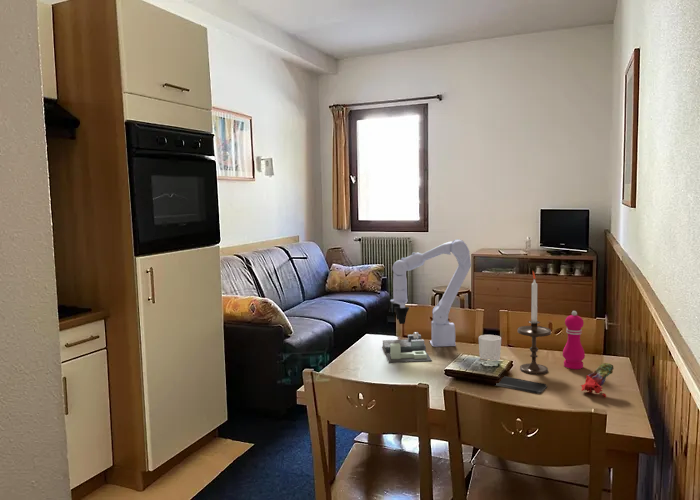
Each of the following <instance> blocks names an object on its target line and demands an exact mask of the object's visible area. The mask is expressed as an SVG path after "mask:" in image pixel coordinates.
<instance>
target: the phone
mask: <svg viewBox="0 0 700 500" xmlns="http://www.w3.org/2000/svg"><path fill="white" fill-rule="evenodd" d="M503 376H504V377H503V378H502V379H501V381H500V382H499V383H496V385H495V386H497V387H501V388H507V389H512V390H517V391H520V392H521V391H522V392H527V393H531V394H537V395H540V394H542V393H543V392H544V391H546V389H547V385H548V384H546V383H542V382H536V381H533V380H532V381H531V380H526V379H520V378H516V377H510V376H505V375H503Z"/></svg>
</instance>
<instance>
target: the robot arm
mask: <svg viewBox="0 0 700 500" xmlns="http://www.w3.org/2000/svg"><path fill="white" fill-rule="evenodd" d="M470 252H471V251H470V249H469V247H468V245H467V244H466V243H465V241H464V240H462V239H459V238H458V239H454V240H452V241H447V242H444V243H442V244H440V245H437V246H436V247H433V248H431V249H429V250H427V251H424V252H423V253H421V252H418V251H417V252H415V251H414V252H411V254H410V255H408V256H406V257H401V258H400V259H398V260H396V261H395V262H394V263H393V264H392V272H393V273H392V275H393V277H392V288H393V289H392V290H393V292H392V294H393V295H392V296H393V298H392V299H390V303H391V304H392V306H393V308H394V312H395V316H396V320H398V324H400V325H404V324H405V323H406V318H407V316H408V315H407V314H408V312H409V310H410V308H409V306H406V304H407V303H408V300H409V299H408V279H407V271H409V272H410V271H413V270H415V269H418V268H419V267H422V266H424V265H425V262H426V261H427V260H430V259H433V258H435V257H439V256H441V255H443V254H444V255H452V254H453V256H454V257H455V258H456V261H457V264H458V265H457V267H456V269H455V270H454V273H453V275H452V277H451V278H450V281H449V282H448V284H447V287H446V289H445V291H444V293H443V295H442V297H441V299H440V300H439V301H438V303H437V304H436V305H435V306H434V307H433V308H432V320H431V340H429V341H430V342H429V343H430V345H431V346H432V347H435V348H436V347H456V326H455V325H456V324H455V323H454V322H450V321H449V313H450V311H451V307H452V305H453V302H454V301H455V299H456V297H457V295H458V293H459V291H460V289H461V287H462V285H463V283H464V280H465V279H466V277H467V275H468V273H469V271H470V269H471V267H472V262H471V261H472V260H471V254H470ZM451 253H452V254H451Z"/></svg>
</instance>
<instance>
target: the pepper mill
mask: <svg viewBox="0 0 700 500" xmlns="http://www.w3.org/2000/svg"><path fill="white" fill-rule="evenodd" d="M564 320H565V321H564V324H565V327H566V334H567V340H566V343H565V346H564V348H563V350H562V357H563V358H564V360H563V367H564V368H566V367H567V368H566V369H569V368H570V370H582V369H583V368H584V362H583V360H584V359H585V357H586V353H585V352H586V351H585V349H584V347H583V345H582V342H581V334H583V330H582V328H583V326H584V323H585V322H584V319H583V318H582V317H581V316H579V315H578V312H577V311H576V310H572V312H571V314H570V315H567V317H566V318H564ZM581 368H582V369H581Z"/></svg>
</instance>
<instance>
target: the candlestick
mask: <svg viewBox="0 0 700 500" xmlns="http://www.w3.org/2000/svg"><path fill="white" fill-rule="evenodd" d="M532 279H533V281H532V283H531V307H530V308H531V315H530V316H531V317H530V318H531V320H528V321H527V323H529V324H530V325H523V326H519V327H518V328H517V333H518V334H520V335H522V336H526V337H531V347H529V351H530V352H531V354H530V355H529V356H530V358H531V363H522V364H521V365H520V366H519V370H520V371H521V372H522V373H524V374H529V375H544V374H547V373H548V371H549V370H548V369H549V368H548V367H547V366H546V365H542V364H538V363H537V358H538V355H537V352H538V351H539V347H537V338H538V337H539V338H540V337H541V338H542V337H547V336H550V335H551V334H552V330H551V329H550V328H549V327H544V326H541V325H538V324H540V323H541V322H540V321H539V320H538V283H537V282H536V275H535V272H534V271H532Z"/></svg>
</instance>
